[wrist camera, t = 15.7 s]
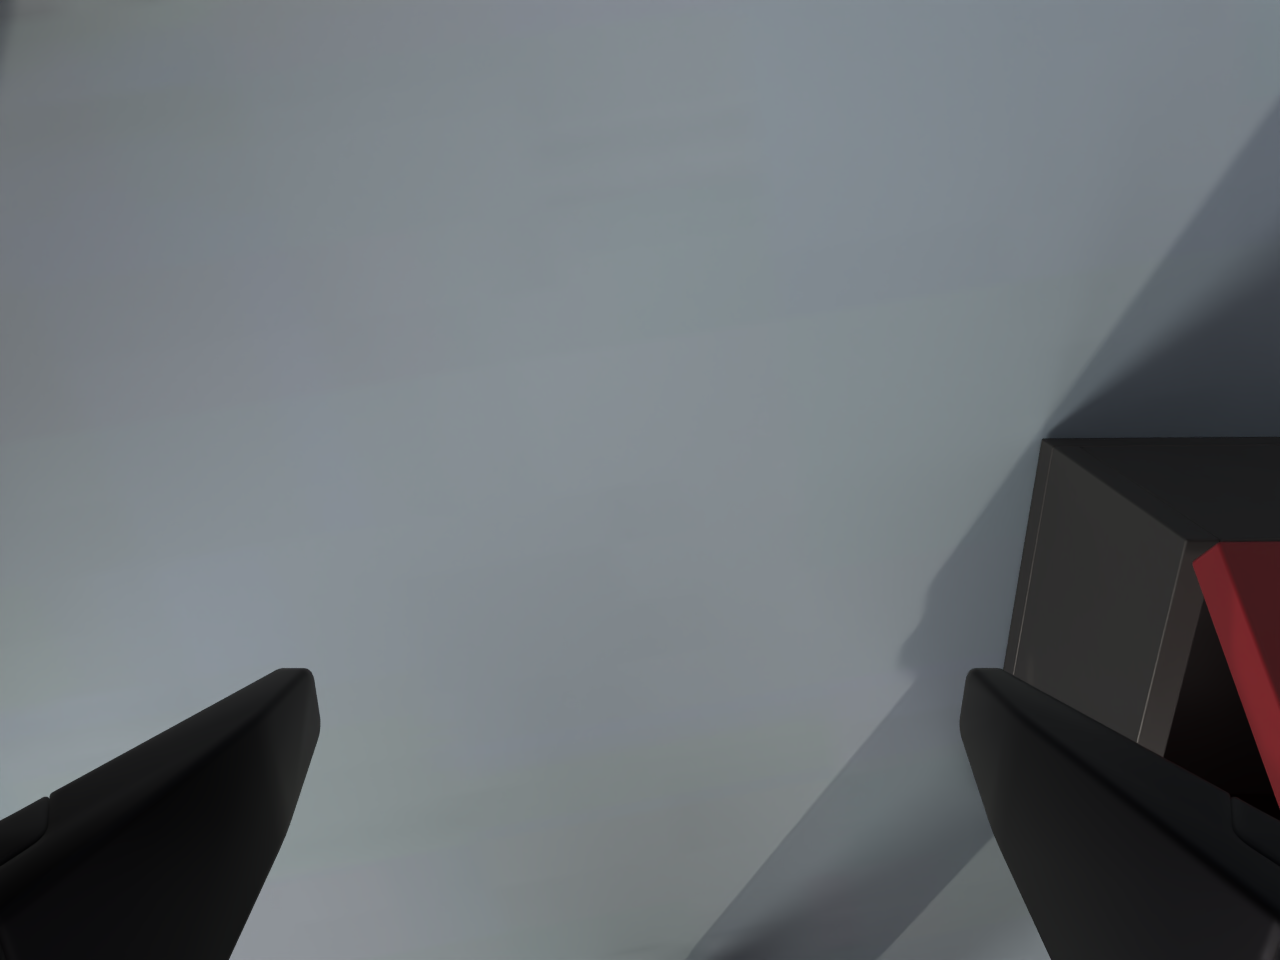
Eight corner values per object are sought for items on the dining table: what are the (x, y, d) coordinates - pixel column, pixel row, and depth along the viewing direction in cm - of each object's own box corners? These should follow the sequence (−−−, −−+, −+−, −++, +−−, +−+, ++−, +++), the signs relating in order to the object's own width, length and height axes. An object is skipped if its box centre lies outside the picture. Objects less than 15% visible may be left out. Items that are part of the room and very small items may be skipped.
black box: (1313, 795, 28) (1507, 979, 22) (981, 797, 28) (1079, 982, 22) (1435, 435, 24) (1722, 535, 17) (1041, 437, 24) (1186, 539, 17)
